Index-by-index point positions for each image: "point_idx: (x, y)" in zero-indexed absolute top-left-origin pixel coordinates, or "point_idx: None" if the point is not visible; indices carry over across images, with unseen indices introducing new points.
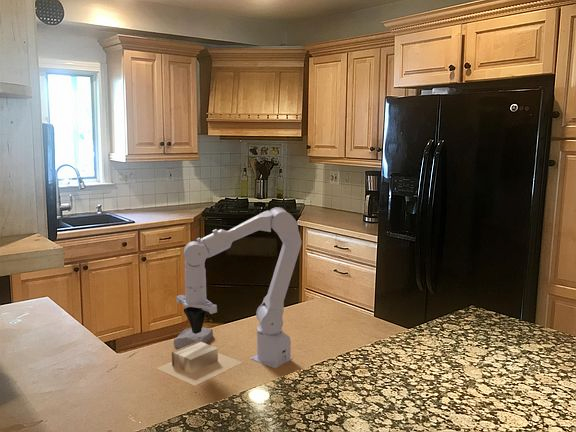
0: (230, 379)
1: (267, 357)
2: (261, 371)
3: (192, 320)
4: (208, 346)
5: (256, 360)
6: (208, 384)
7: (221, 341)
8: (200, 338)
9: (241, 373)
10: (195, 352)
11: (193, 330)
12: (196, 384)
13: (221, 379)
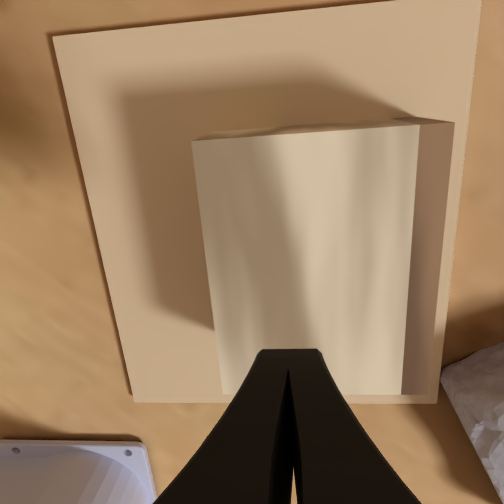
0: (26, 250)
1: (33, 479)
2: (15, 393)
3: (256, 497)
4: None
5: (101, 446)
6: (44, 127)
7: (426, 498)
8: (481, 438)
9: (52, 326)
10: (277, 253)
11: (286, 365)
12: (62, 57)
13: (54, 218)
